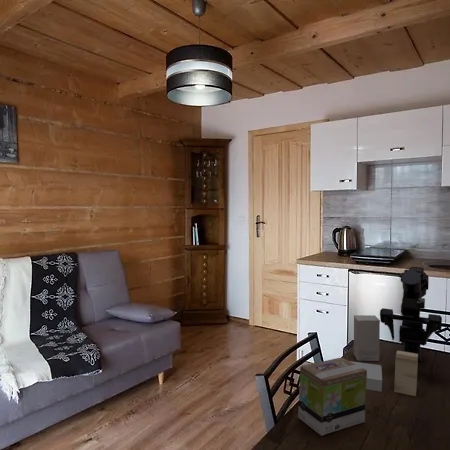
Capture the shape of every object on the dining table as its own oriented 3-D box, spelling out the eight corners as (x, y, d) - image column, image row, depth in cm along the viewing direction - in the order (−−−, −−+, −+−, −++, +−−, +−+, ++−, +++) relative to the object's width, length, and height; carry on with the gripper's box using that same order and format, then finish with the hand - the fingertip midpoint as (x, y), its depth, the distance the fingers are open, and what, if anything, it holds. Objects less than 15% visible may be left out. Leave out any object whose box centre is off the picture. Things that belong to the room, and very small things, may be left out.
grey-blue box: (343, 371, 139) (344, 360, 138) (381, 376, 135) (381, 365, 134) (341, 386, 127) (341, 374, 127) (381, 393, 123) (382, 380, 123)
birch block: (396, 383, 129) (397, 350, 128) (416, 388, 126) (418, 353, 125) (394, 391, 123) (395, 356, 123) (415, 396, 121) (417, 360, 120)
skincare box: (375, 355, 152) (376, 315, 151) (380, 362, 146) (381, 320, 145) (352, 354, 153) (353, 314, 152) (356, 361, 147) (357, 319, 146)
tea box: (322, 438, 99) (323, 380, 98) (297, 418, 108) (298, 365, 107) (366, 422, 106) (367, 368, 105) (339, 405, 115) (340, 355, 114)
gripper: (381, 285, 138) (375, 325, 129) (442, 291, 129) (441, 334, 120) (383, 302, 145) (378, 341, 136) (441, 309, 137) (440, 351, 128)
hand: (408, 342), depth 130 cm, fingers open, 9 cm apart
